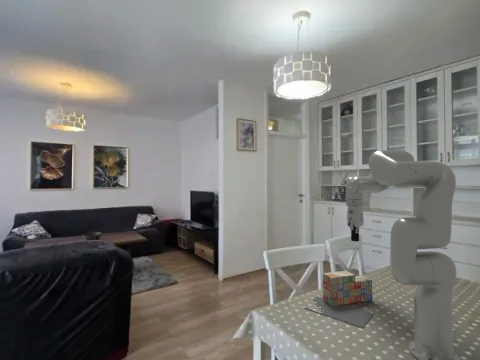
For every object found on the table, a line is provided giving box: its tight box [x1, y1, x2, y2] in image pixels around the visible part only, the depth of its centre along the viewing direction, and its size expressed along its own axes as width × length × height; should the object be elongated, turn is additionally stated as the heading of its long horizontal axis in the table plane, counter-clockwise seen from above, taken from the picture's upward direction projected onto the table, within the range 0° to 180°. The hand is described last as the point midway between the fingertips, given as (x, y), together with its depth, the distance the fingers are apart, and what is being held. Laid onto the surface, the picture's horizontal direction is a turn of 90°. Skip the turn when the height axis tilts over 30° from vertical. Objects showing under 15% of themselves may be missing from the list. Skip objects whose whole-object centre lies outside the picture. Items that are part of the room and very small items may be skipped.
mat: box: [312, 296, 375, 329], centre depth 109 cm, size 14×24×1 cm, turn 49°
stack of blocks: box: [322, 270, 373, 306], centre depth 118 cm, size 21×6×12 cm, turn 105°
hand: (355, 240), depth 127 cm, fingers closed
